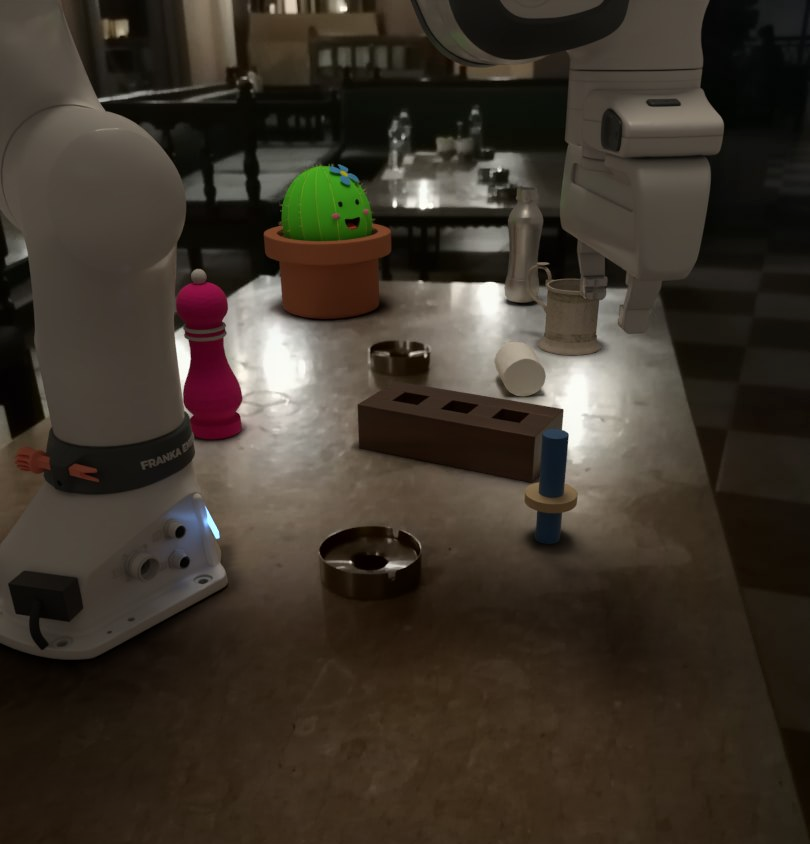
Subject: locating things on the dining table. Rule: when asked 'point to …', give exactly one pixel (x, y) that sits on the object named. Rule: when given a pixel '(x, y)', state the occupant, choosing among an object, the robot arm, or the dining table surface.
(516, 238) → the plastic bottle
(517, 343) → the roll
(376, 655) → the dining table surface
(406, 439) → the stand
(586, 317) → the mug
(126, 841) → the dining table surface
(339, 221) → the potted cactus
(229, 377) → the pepper mill
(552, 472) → the peg
